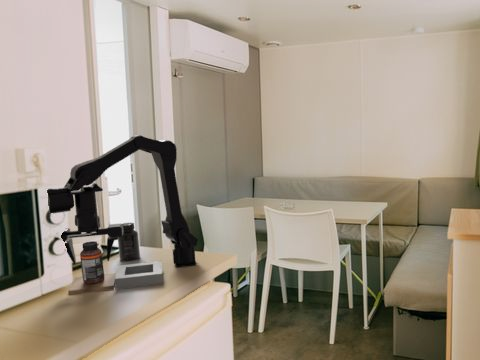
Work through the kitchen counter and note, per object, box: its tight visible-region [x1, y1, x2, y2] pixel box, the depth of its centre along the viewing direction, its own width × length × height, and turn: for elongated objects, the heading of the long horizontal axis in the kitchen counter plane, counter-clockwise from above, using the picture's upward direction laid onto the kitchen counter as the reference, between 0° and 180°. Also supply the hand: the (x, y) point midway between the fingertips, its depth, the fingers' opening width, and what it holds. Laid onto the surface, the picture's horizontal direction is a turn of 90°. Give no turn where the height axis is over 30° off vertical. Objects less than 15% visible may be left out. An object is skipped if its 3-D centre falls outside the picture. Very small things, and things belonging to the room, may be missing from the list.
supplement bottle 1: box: [79, 240, 105, 284], centre depth 136 cm, size 6×6×11 cm
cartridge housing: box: [114, 260, 164, 290], centre depth 138 cm, size 13×13×3 cm
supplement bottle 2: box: [117, 222, 141, 262], centre depth 162 cm, size 7×7×12 cm
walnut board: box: [67, 272, 116, 295], centre depth 136 cm, size 12×12×1 cm
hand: (91, 262), depth 136 cm, fingers open, 9 cm apart
